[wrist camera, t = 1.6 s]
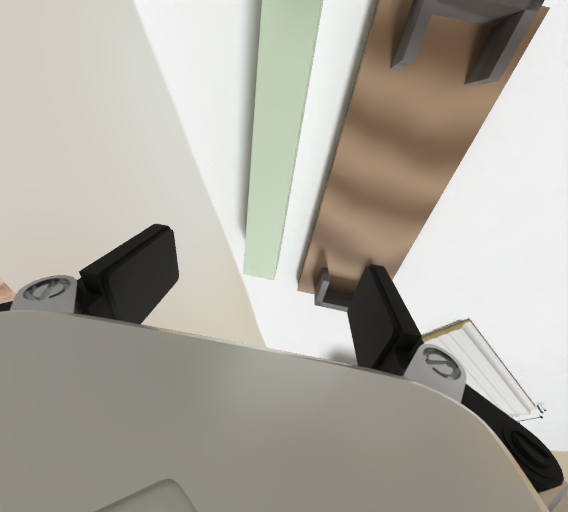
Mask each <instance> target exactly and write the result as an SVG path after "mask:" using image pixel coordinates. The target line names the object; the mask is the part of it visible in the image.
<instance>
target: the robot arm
mask: <svg viewBox="0 0 568 512" xmlns="http://www.w3.org/2000/svg"><path fill="white" fill-rule="evenodd" d="M79 273H80V275H81V278H80V279H78V280H76V279H74V278H73V277H71V276H65V275H58V276H50V277H46V278H42V279H39V280H36V281H34V282H31V283H30V284H28V285H26V286H24V287H23V288H22V289H20V290H19V291H18V293H17V294H16V296H15V298H14V301H11V302H6V303H2V304H0V512H568V483H567V482H565V481H564V477H563V473H562V469H561V468H560V466H559V464H558V462H557V460H556V459H555V457H554V456H553V455H552V453H551V452H550V450H549V449H548V448H547V447H546V446H545V445H544V444H543V443H542V442H541V441H540V440H539V439H538V438H537V437H536V436H535V435H533V434H532V433H531V432H530V431H529V430H527V429H526V428H525V427H523V426H522V425H521V424H519V423H518V422H517V421H515V420H514V419H513V418H511V417H510V416H509V415H507V414H506V413H505V412H503V411H502V410H501V409H499V408H498V407H497V406H495V405H494V404H493V403H491V402H490V401H489V400H487V399H486V398H485V397H483V396H482V395H481V394H479V393H478V392H477V391H475V390H474V389H473V388H471V387H470V386H469V385H467V384H466V372H465V370H464V368H463V366H462V365H461V364H460V362H459V361H458V360H457V359H456V358H455V357H454V356H453V355H452V354H450V353H449V352H448V351H446V350H444V349H443V348H441V347H439V346H436V345H433V344H424V342H423V340H422V338H421V337H422V335H421V334H420V332H419V330H418V328H417V326H416V324H415V322H414V321H413V319H412V317H411V315H410V313H409V311H408V309H407V307H406V306H405V304H404V302H403V300H402V298H401V296H400V294H399V293H398V291H397V289H396V287H395V285H394V283H393V281H392V280H391V278H390V276H389V274H388V272H387V270H386V268H385V267H384V266H380V265H375V264H371V265H370V266H366V267H365V269H364V271H363V274H362V276H361V278H360V280H359V283H358V285H357V287H356V290H355V292H354V294H353V297H352V299H351V301H350V304H349V306H348V310H347V313H348V319H349V323H350V328H351V333H352V338H353V343H354V348H355V353H356V358H357V363H358V366H356V365H351V364H346V363H341V362H337V361H332V360H327V359H321V358H316V357H311V356H306V355H301V354H296V353H291V352H285V351H280V350H275V349H270V348H265V347H259V346H254V345H249V344H244V343H238V342H233V341H227V340H223V339H217V338H212V337H206V336H201V335H196V334H191V333H185V332H179V331H173V330H169V329H163V328H157V327H152V326H147V325H141V323H142V322H143V321H144V320H145V318H146V317H147V316H148V315H149V314H150V313H151V311H152V310H153V309H154V308H155V307H156V305H157V304H158V303H159V302H160V301H161V299H162V298H163V297H164V296H165V295H166V294H167V293H168V291H169V290H170V289H171V288H172V287H173V286H174V284H175V283H176V282H177V281H178V278H179V271H178V263H177V255H176V247H175V239H174V232H173V230H171V229H170V227H169V226H166V225H161V224H153V225H152V226H150V227H149V228H147V229H145V230H144V231H142V232H141V233H139V234H138V235H136V236H134V237H133V238H131V239H130V240H128V241H126V242H125V243H123V244H122V245H120V246H119V247H117V248H115V249H114V250H112V251H111V252H109V253H108V254H106V255H104V256H103V257H101V258H100V259H98V260H96V261H95V262H93V263H92V264H90V265H89V266H87V267H85V268H84V269H82V270H81V271H79Z"/></svg>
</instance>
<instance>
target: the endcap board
mask: <svg viewBox="0 0 568 512" xmlns="http://www.w3.org/2000/svg"><path fill="white" fill-rule="evenodd" d="M543 2H544V0H378V2H377V6H376V9H375V13H374V17H373V20H372V24H371V27H370V31H369V34H368V38H367V41H366V45H365V48H364V52H363V56H362V59H361V63H360V66H359V70H358V73H357V77H356V80H355V84H354V87H353V91H352V95H351V98H350V102H349V105H348V109H347V112H346V116H345V119H344V123H343V126H342V130H341V134H340V137H339V141H338V144H337V148H336V151H335V155H334V158H333V162H332V166H331V169H330V173H329V176H328V180H327V183H326V187H325V190H324V194H323V197H322V201H321V205H320V208H319V212H318V215H317V219H316V222H315V226H314V229H313V233H312V236H311V240H310V244H309V247H308V251H307V254H306V258H305V261H304V265H303V268H302V272H301V275H300V279H299V283H298V290H297V291H302V292H306V293H311V294H315V305H317V306H322V307H326V308H331V309H336V310H340V311H345V312H347V310H348V306H349V304H350V301H351V299H352V297H353V294H354V292H355V290H356V287H357V285H358V283H359V280H360V278H361V276H362V274H363V271H364V269H365V267H366V266H370V265H371V264H375V265H380V266H384V267H385V268H386V270H387V272H388V274H389V276H390V278H391V280H393V278H394V276H395V274H396V273H397V271H398V269H399V267H400V266H401V264H402V262H403V261H404V259H405V257H406V255H407V254H408V252H409V250H410V248H411V247H412V245H413V243H414V242H415V240H416V238H417V236H418V235H419V233H420V231H421V230H422V228H423V226H424V224H425V223H426V221H427V219H428V217H429V216H430V214H431V212H432V211H433V209H434V207H435V205H436V204H437V202H438V200H439V198H440V197H441V195H442V193H443V192H444V190H445V188H446V186H447V185H448V183H449V181H450V179H451V178H452V176H453V174H454V173H455V171H456V169H457V167H458V166H459V164H460V162H461V161H462V159H463V157H464V155H465V154H466V152H467V150H468V148H469V147H470V145H471V143H472V142H473V140H474V138H475V136H476V135H477V133H478V131H479V129H480V128H481V126H482V124H483V123H484V121H485V119H486V117H487V116H488V114H489V112H490V111H491V109H492V107H493V105H494V104H495V102H496V100H497V98H498V97H499V95H500V93H501V92H502V90H503V88H504V86H505V85H506V83H507V81H508V79H509V78H510V76H511V74H512V73H513V71H514V69H515V67H516V66H517V64H518V62H519V60H520V59H521V57H522V55H523V54H524V52H525V50H526V48H527V47H528V45H529V43H530V42H531V40H532V38H533V36H534V35H535V33H536V31H537V29H538V28H539V26H540V24H541V23H542V21H543V19H544V17H545V16H546V14H547V12H548V10H549V9H550V8H549V7H544V6H542V4H543Z"/></svg>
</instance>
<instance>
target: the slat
mask: <svg viewBox="0 0 568 512" xmlns="http://www.w3.org/2000/svg"><path fill="white" fill-rule="evenodd" d="M322 5H323V0H262V6H261V21H260V36H259V50H258V65H257V80H256V94H255V109H254V123H253V138H252V153H251V167H250V182H249V197H248V211H247V226H246V241H245V255H244V270H243V274H246V275H251V276H256V277H261V278H266V279H271V280H274V278H275V274H276V269H277V265H278V261H279V256H280V250H281V244H282V238H283V233H284V227H285V221H286V215H287V209H288V203H289V198H290V192H291V186H292V180H293V174H294V168H295V163H296V157H297V151H298V145H299V139H300V133H301V128H302V122H303V116H304V110H305V104H306V98H307V93H308V87H309V81H310V75H311V69H312V64H313V58H314V52H315V46H316V40H317V34H318V29H319V23H320V17H321V11H322Z"/></svg>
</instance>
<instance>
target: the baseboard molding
mask: <svg viewBox="0 0 568 512" xmlns="http://www.w3.org/2000/svg"><path fill="white" fill-rule="evenodd" d="M422 340H423V342H424V344H433V345H436V346H439V347H441V348H443V349H444V350H446V351H448V352H449V353H450V354H452V355H453V356H454V357H455V358H456V359H457V360H458V361H459V362H460V364H461V365H462V366H463V368H464V370H465V372H466V384H467V385H469V386H470V387H471V388H473V389H474V390H475V391H477V392H478V393H479V394H481V395H482V396H483V397H485V398H486V399H487V400H489V401H490V402H491V403H493V404H494V405H495V406H497V407H498V408H499V409H501V410H502V411H503V412H505V413H506V414H507V415H509V416H510V417H518V416H520V415H529V414H530V412H531V410H535V409H536V408H535V406H534V405H533V404H532V402H531V401H530V400H529V398H528V397H527V396H526V394H525V393H524V392H523V390H522V389H521V388H520V386H519V385H518V384H517V382H516V381H515V380H514V379H513V377H512V376H511V375H510V373H509V372H508V371H507V369H506V368H505V367H504V365H503V364H502V363H501V361H500V360H499V359H498V357H497V356H496V355H495V353H494V352H493V351H492V349H491V348H490V347H489V345H488V344H487V343H486V341H485V340H484V339H483V338H482V336H481V335H480V334H479V332H478V331H477V330H476V328H475V327H474V326H473V324H472V323H471V322H470V320H466V321H464V322H461V323H459V324H456V325H454V326H451V327H448V328H446V329H443V330H441V331H438V332H436V333H433V334H431V335H428V336H425V337H423V338H422ZM537 408H538V409H539V410H540V412H541V413H542V412H543V411H542V410H541V409H540V407H539V406H537ZM543 409H544V408H543ZM544 411H546V410H544ZM539 416H540V415H539ZM540 417H541V418H543V417H542V416H540ZM540 417H538V418H540ZM532 419H535V418H532ZM527 420H529V419H527ZM521 421H524V420H521ZM517 422H518V421H517ZM519 424H520V423H519Z"/></svg>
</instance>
